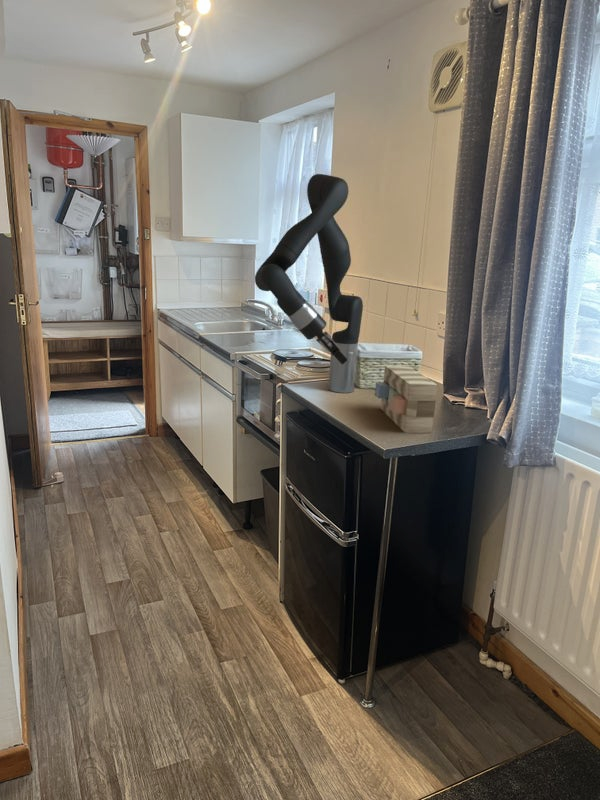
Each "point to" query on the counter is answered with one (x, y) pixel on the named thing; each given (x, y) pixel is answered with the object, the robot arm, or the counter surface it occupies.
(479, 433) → the counter surface
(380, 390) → the blue button
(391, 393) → the green button
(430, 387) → the block
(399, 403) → the terracotta button
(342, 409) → the counter surface
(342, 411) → the counter surface
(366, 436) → the counter surface
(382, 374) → the storage basket
